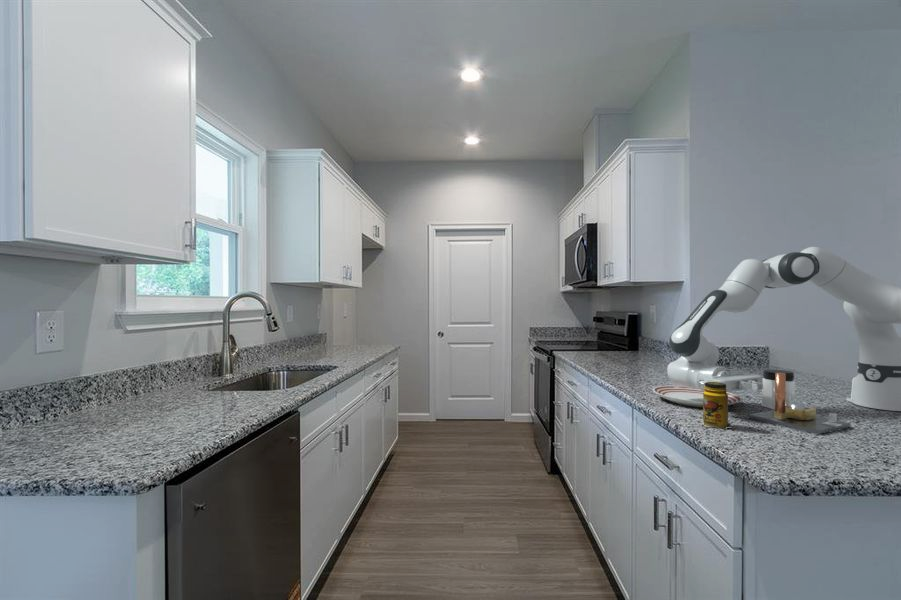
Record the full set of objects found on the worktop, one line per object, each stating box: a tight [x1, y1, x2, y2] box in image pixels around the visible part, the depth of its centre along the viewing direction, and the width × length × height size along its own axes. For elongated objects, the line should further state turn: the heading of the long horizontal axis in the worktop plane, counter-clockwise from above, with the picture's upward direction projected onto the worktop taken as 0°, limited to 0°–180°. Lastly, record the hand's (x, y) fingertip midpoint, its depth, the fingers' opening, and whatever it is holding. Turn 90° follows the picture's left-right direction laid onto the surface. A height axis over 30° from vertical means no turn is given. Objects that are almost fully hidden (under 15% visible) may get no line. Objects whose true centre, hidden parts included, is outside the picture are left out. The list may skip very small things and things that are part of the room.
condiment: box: [700, 382, 733, 430], centre depth 128 cm, size 7×8×12 cm
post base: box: [748, 402, 852, 435], centre depth 130 cm, size 17×18×5 cm
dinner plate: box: [652, 385, 743, 408], centre depth 157 cm, size 28×27×3 cm
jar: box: [761, 369, 796, 410], centre depth 148 cm, size 9×8×12 cm
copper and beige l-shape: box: [774, 373, 817, 420], centre depth 130 cm, size 14×7×13 cm, turn 116°
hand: (760, 386), depth 133 cm, fingers closed
